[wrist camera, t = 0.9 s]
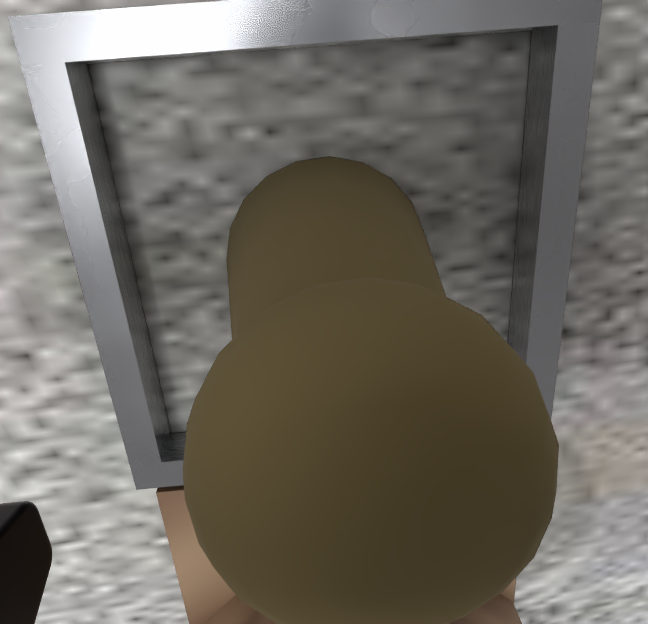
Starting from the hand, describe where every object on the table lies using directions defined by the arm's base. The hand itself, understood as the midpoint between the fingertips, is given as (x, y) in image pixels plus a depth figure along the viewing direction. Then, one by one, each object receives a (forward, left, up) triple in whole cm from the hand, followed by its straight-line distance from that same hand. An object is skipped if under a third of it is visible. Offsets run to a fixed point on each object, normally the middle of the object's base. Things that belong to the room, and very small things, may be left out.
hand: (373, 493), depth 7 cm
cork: (0, 0, -10) cm, 10 cm away
